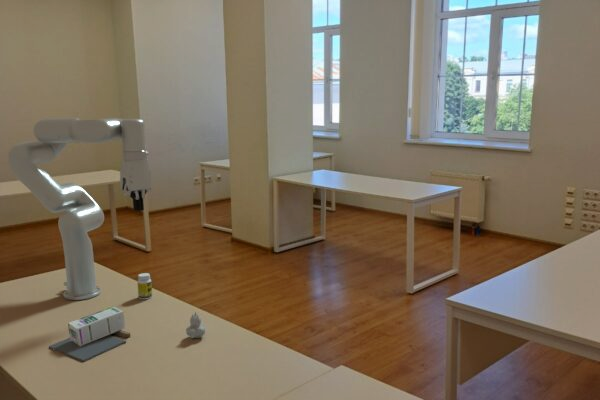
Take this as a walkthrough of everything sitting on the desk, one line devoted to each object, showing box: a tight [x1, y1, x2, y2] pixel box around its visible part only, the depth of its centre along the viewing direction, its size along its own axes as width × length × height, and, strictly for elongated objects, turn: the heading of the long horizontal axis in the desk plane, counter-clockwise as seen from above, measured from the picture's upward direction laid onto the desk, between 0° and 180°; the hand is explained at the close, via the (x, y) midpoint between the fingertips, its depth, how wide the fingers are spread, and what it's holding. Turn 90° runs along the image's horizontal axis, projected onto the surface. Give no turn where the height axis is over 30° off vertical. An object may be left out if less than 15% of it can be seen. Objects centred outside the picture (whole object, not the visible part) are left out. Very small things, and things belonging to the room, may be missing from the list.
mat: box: [48, 334, 127, 363], centre depth 158 cm, size 16×14×1 cm
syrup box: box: [67, 306, 126, 346], centre depth 162 cm, size 6×6×14 cm
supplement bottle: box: [137, 272, 153, 300], centre depth 195 cm, size 5×5×8 cm
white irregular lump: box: [185, 311, 206, 339], centre depth 161 cm, size 5×7×8 cm
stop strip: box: [113, 329, 131, 339], centre depth 166 cm, size 12×1×1 cm, turn 56°
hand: (138, 210), depth 187 cm, fingers closed
